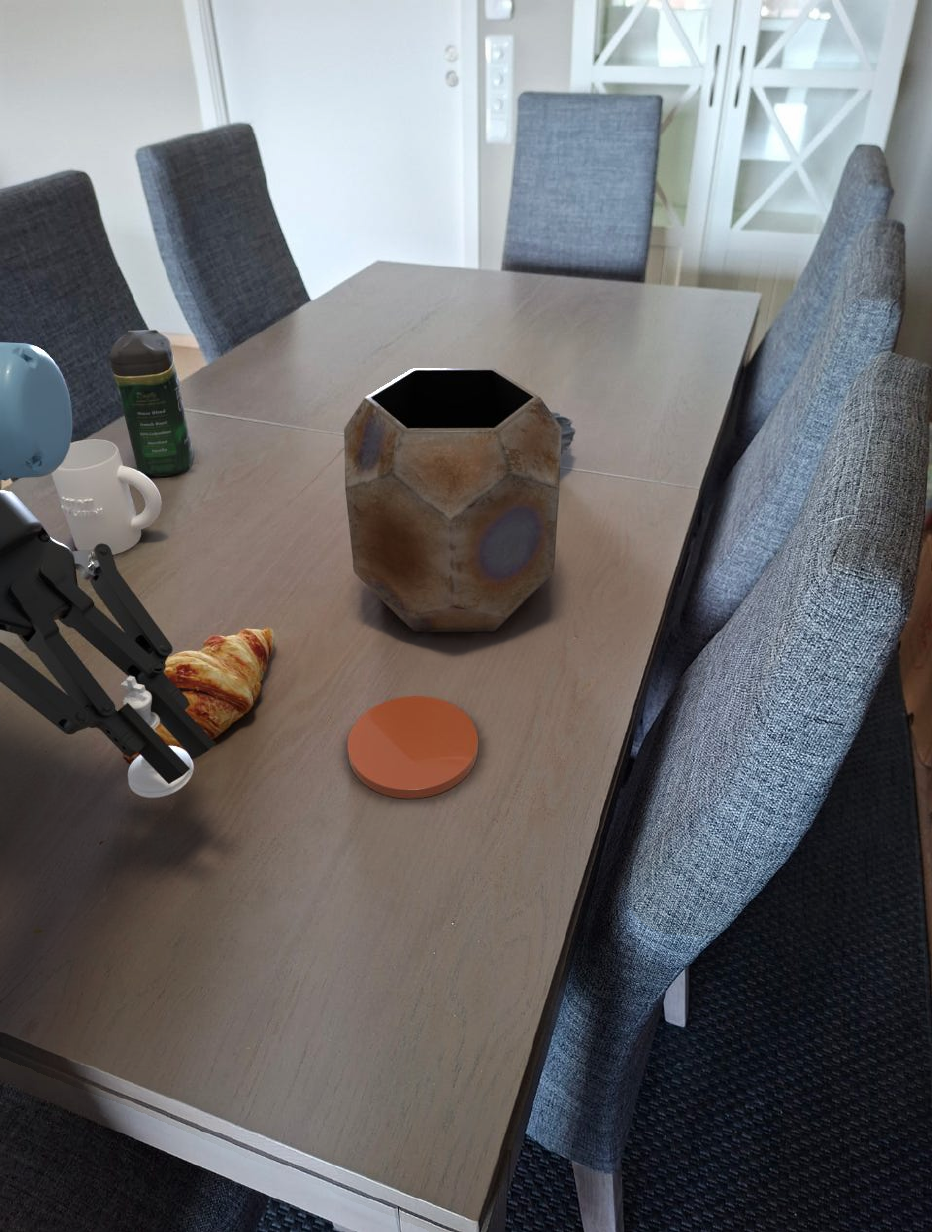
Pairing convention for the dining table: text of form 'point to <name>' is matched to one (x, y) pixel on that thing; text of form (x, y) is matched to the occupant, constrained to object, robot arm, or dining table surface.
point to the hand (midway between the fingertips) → (192, 763)
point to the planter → (453, 496)
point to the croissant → (219, 680)
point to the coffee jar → (152, 402)
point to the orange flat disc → (412, 747)
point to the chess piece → (140, 771)
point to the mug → (103, 496)
